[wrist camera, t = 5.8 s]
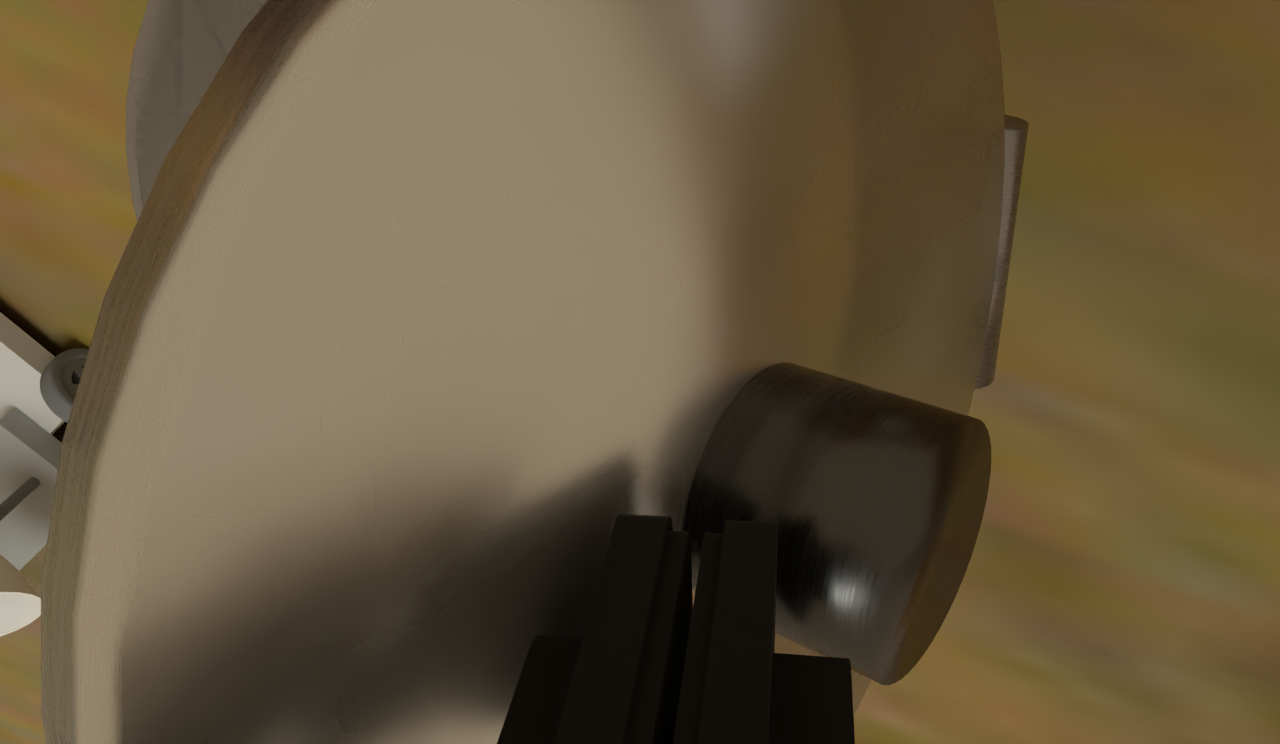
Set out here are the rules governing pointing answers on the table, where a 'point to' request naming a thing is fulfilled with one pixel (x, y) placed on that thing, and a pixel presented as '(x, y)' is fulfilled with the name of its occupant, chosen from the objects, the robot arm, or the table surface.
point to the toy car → (29, 458)
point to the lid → (527, 353)
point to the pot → (174, 76)
